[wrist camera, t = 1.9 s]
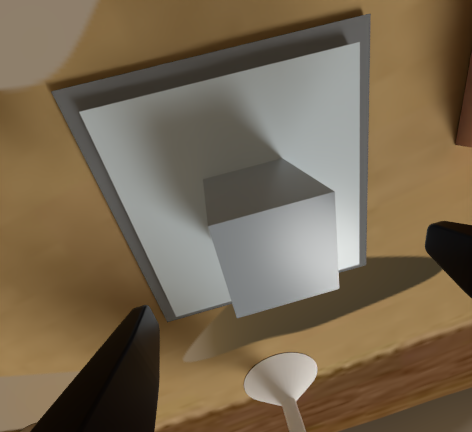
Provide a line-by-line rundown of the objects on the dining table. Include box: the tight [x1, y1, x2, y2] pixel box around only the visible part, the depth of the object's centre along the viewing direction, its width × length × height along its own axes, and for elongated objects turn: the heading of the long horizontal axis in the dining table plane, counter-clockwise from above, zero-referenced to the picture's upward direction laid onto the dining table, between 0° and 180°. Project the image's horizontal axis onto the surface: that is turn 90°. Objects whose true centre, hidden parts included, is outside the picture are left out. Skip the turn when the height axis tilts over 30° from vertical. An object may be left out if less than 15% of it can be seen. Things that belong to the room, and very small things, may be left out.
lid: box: [79, 42, 360, 318], centre depth 11 cm, size 12×12×6 cm
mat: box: [52, 14, 370, 322], centre depth 14 cm, size 14×14×1 cm
